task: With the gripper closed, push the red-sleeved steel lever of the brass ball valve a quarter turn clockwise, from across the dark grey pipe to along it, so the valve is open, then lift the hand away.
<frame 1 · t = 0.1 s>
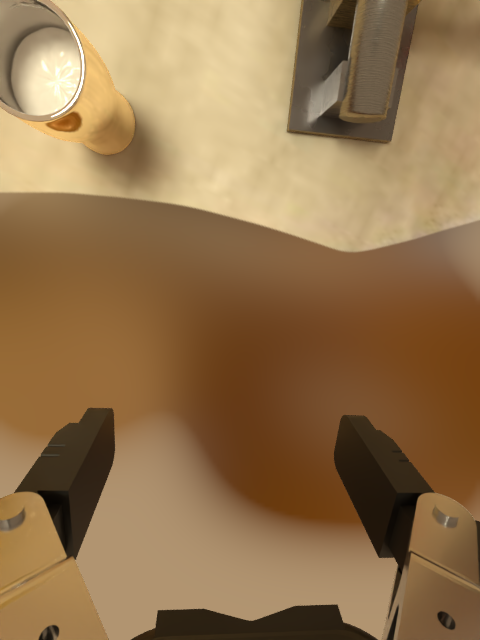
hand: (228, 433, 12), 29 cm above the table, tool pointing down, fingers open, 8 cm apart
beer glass: (105, 122, 34), on the table
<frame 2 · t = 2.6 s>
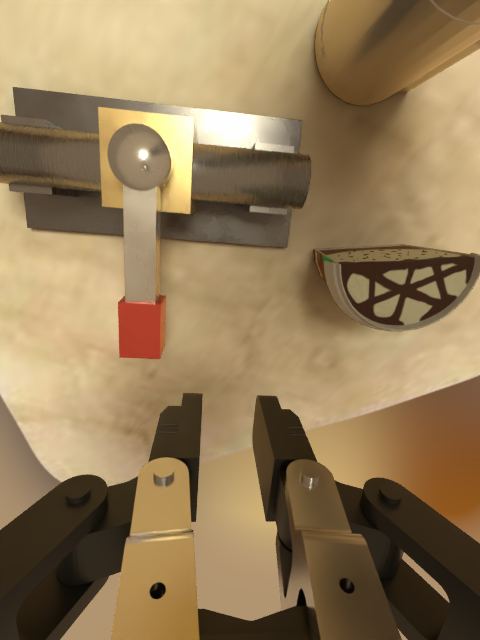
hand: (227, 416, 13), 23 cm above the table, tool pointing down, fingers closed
food container: (355, 275, 36), on the table
valve pipe: (164, 175, 31), on the table
valve lever: (142, 250, 23), point 10 cm above the table, hinge at 0.0°
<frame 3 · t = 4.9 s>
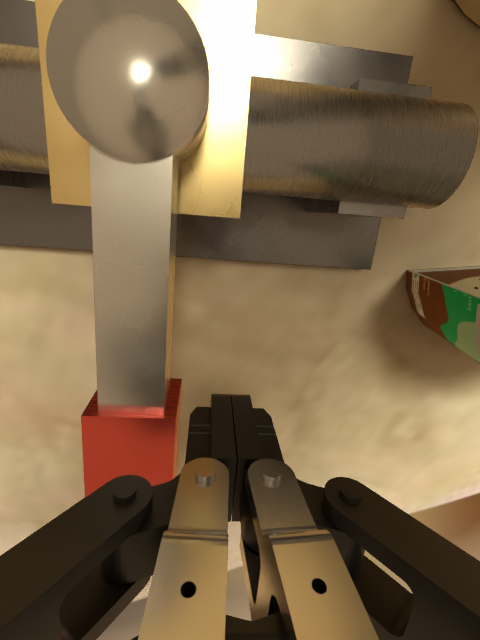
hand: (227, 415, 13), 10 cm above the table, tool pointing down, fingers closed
food container: (464, 309, 24), on the table
valve pipe: (175, 153, 19), on the table
valve lever: (138, 298, 11), point 10 cm above the table, hinge at 1.0°, touching gripper
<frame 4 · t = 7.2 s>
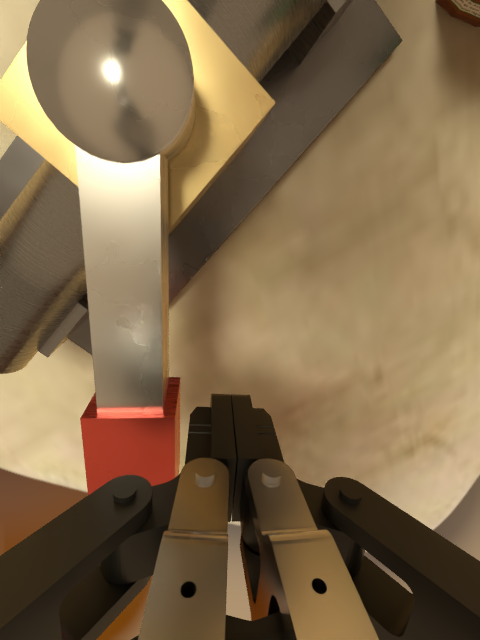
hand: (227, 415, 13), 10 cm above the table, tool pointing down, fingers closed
valve pipe: (166, 150, 19), on the table
valve lever: (132, 299, 10), point 10 cm above the table, hinge at 50.7°, touching gripper
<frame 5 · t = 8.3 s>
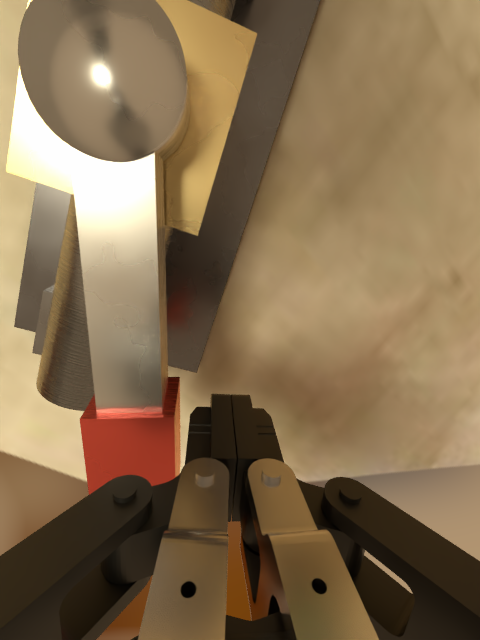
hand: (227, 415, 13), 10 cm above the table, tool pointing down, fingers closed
valve pipe: (162, 149, 18), on the table
valve lever: (130, 299, 10), point 10 cm above the table, hinge at 73.9°, touching gripper
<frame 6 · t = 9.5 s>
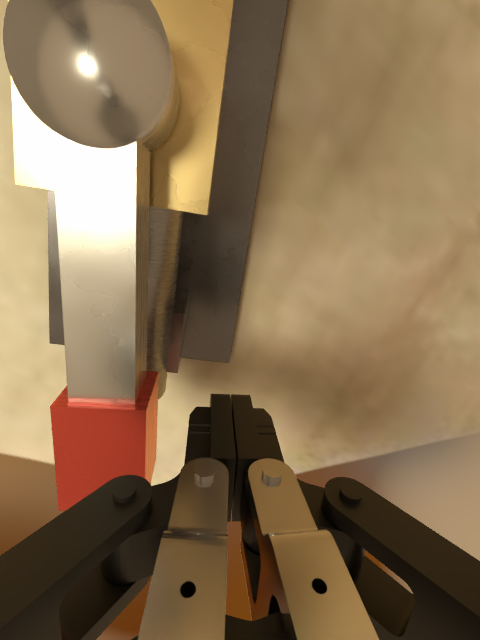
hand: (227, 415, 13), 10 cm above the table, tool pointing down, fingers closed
valve pipe: (161, 146, 19), on the table
valve lever: (109, 289, 10), point 10 cm above the table, hinge at 86.7°
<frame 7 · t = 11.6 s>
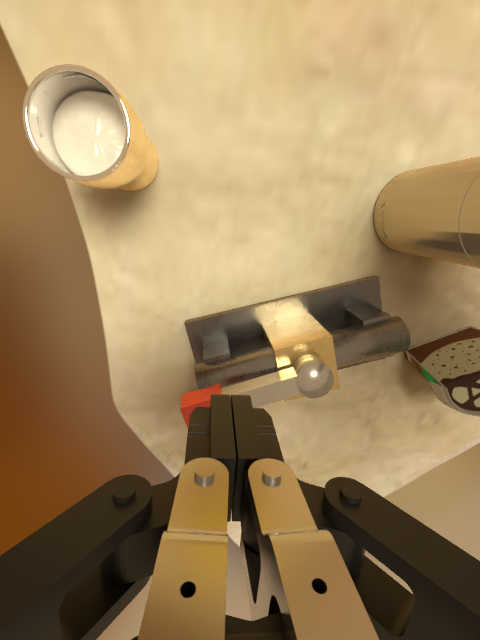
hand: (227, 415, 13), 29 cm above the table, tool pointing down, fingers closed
food container: (439, 356, 46), on the table
valve pipe: (288, 338, 43), on the table
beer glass: (129, 160, 36), on the table
valve lever: (257, 391, 33), point 10 cm above the table, hinge at 86.7°
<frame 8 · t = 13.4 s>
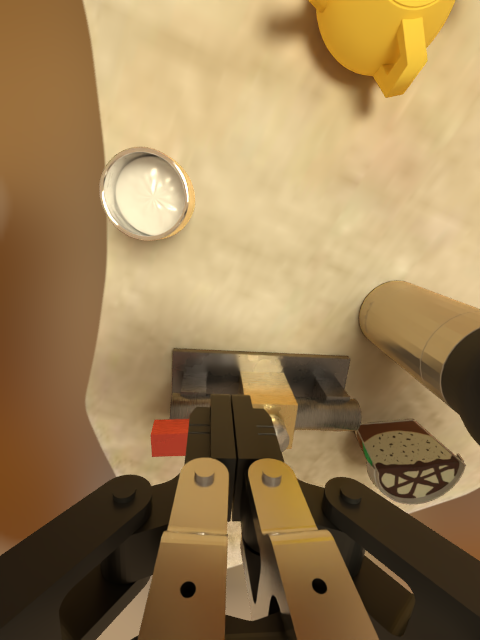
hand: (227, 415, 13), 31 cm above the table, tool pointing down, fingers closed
food container: (381, 437, 53), on the table
valve pipe: (259, 388, 48), on the table
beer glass: (169, 200, 39), on the table
teapot: (366, 16, 35), on the table
valve lever: (221, 435, 38), point 10 cm above the table, hinge at 86.7°
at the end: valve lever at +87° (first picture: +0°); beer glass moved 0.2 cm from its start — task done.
